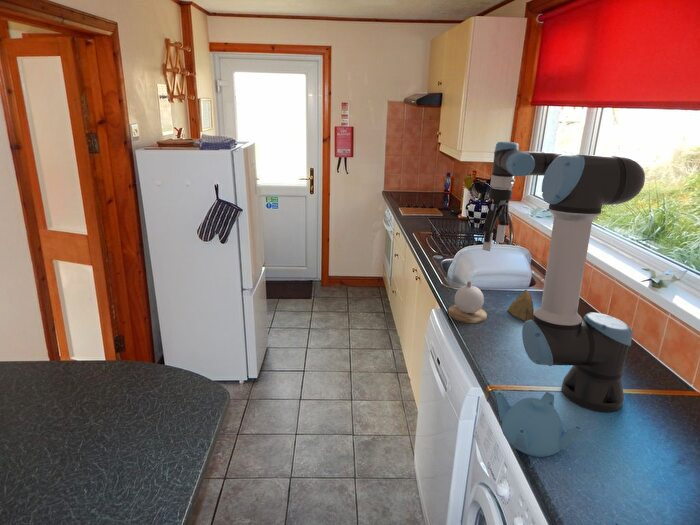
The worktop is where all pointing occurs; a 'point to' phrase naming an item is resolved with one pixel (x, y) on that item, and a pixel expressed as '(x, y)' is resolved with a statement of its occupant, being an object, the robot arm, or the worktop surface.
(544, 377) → the worktop surface
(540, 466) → the worktop surface
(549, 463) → the worktop surface
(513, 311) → the rock
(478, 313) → the trivet
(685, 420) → the worktop surface
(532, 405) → the teapot
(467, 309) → the ornament
